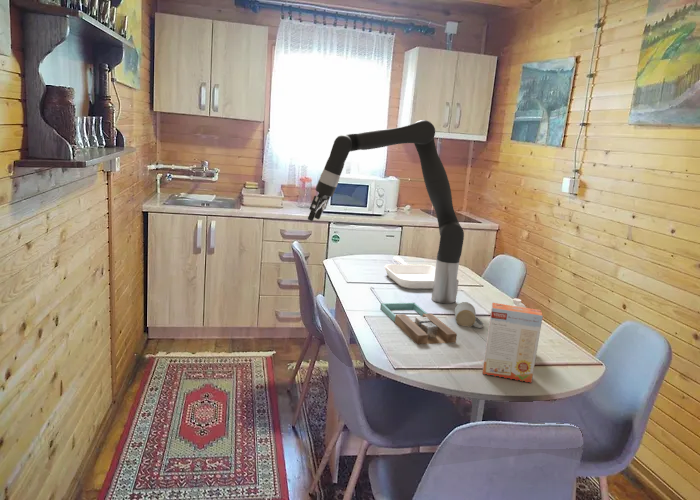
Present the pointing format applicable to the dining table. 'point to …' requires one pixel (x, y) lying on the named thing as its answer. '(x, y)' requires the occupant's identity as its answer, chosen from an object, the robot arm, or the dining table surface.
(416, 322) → the metal block
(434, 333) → the metal block
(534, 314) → the cracker box
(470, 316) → the ceramic mug
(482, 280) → the dining table surface
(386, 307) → the teal tray
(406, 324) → the walnut slot board
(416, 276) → the pan
